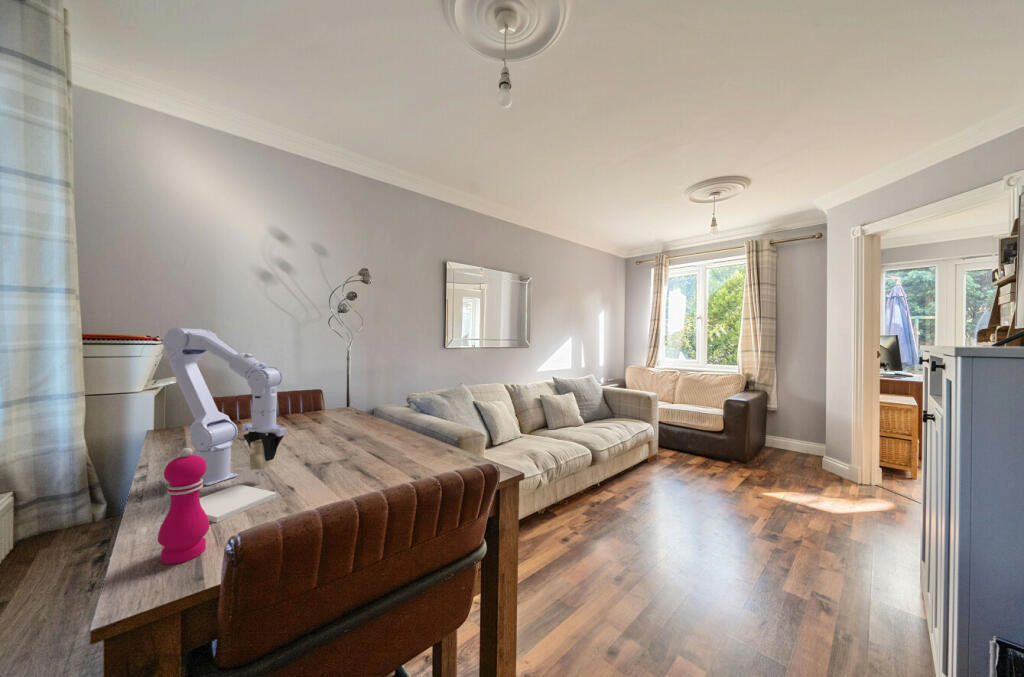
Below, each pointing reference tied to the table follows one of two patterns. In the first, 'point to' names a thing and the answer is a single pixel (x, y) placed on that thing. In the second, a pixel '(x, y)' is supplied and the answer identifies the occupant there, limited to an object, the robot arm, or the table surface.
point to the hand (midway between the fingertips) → (263, 458)
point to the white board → (233, 501)
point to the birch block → (259, 456)
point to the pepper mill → (184, 510)
